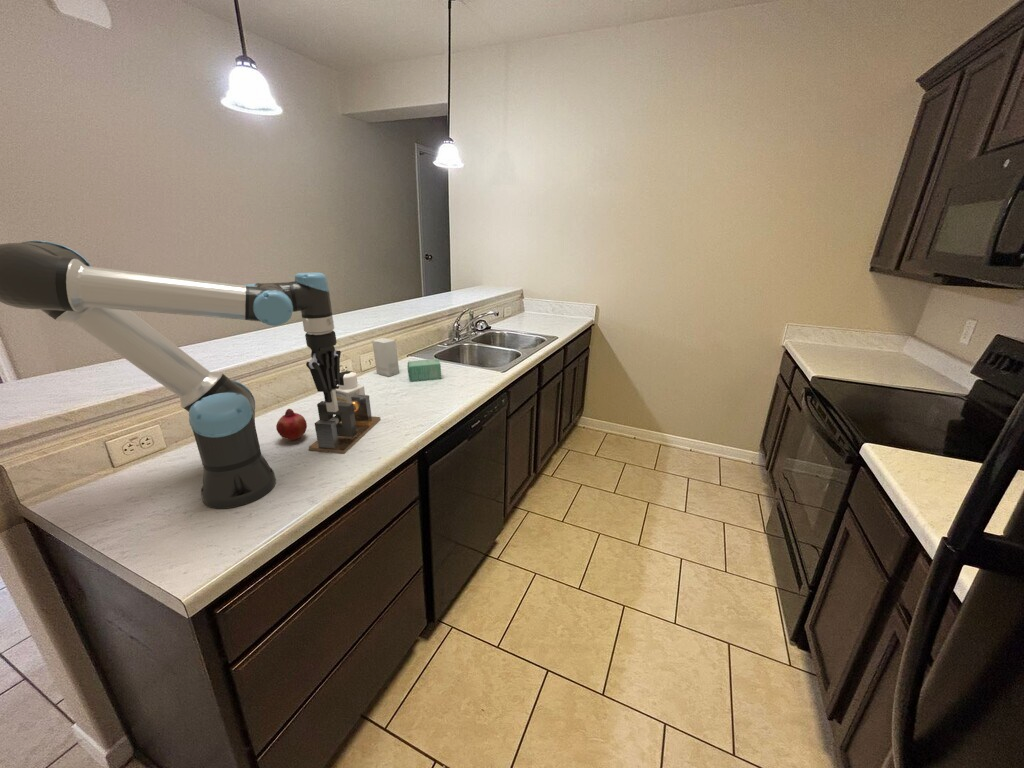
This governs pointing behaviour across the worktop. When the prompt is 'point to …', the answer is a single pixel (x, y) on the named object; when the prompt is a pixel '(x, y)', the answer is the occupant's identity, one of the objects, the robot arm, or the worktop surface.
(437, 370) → the box
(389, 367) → the skincare box
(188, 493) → the worktop surface
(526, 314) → the worktop surface
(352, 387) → the container
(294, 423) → the fruit
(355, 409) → the pipe rig
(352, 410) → the collar
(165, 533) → the worktop surface
